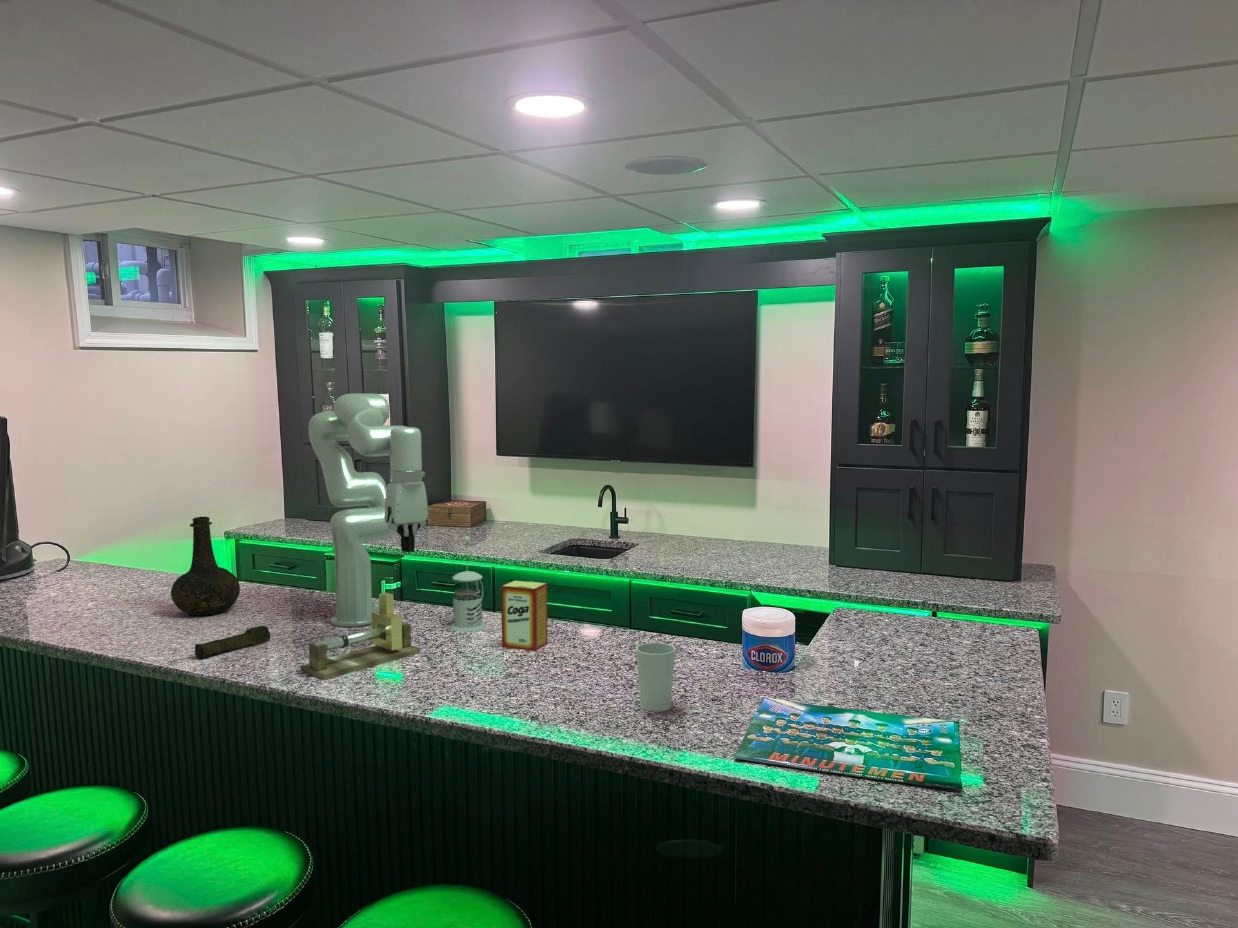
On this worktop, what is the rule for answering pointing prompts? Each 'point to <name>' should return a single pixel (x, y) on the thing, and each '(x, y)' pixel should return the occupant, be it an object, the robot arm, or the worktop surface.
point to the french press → (467, 602)
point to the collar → (387, 623)
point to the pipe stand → (355, 657)
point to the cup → (655, 675)
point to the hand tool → (233, 642)
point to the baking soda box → (524, 615)
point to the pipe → (354, 638)
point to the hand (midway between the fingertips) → (408, 551)
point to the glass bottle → (204, 578)
